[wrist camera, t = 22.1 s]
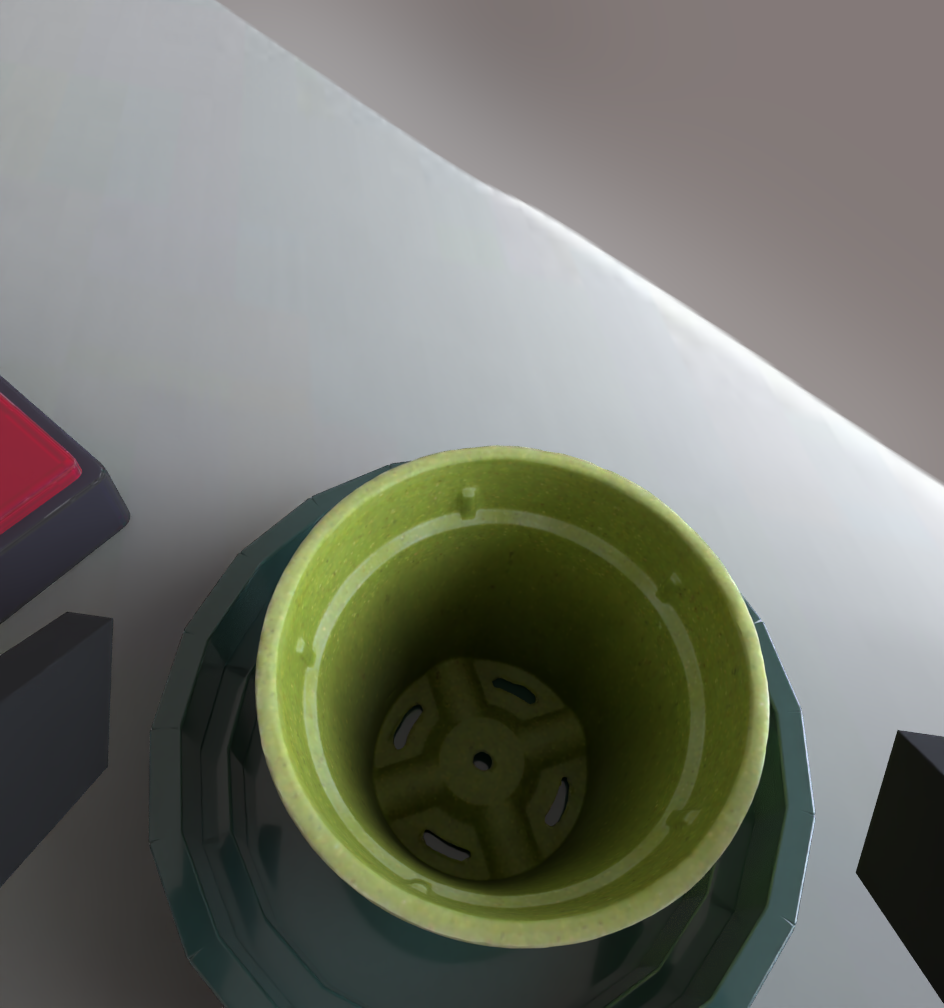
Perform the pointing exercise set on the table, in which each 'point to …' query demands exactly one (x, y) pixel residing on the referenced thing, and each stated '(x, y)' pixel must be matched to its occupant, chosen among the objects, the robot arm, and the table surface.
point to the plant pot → (512, 696)
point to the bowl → (382, 936)
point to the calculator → (47, 502)
